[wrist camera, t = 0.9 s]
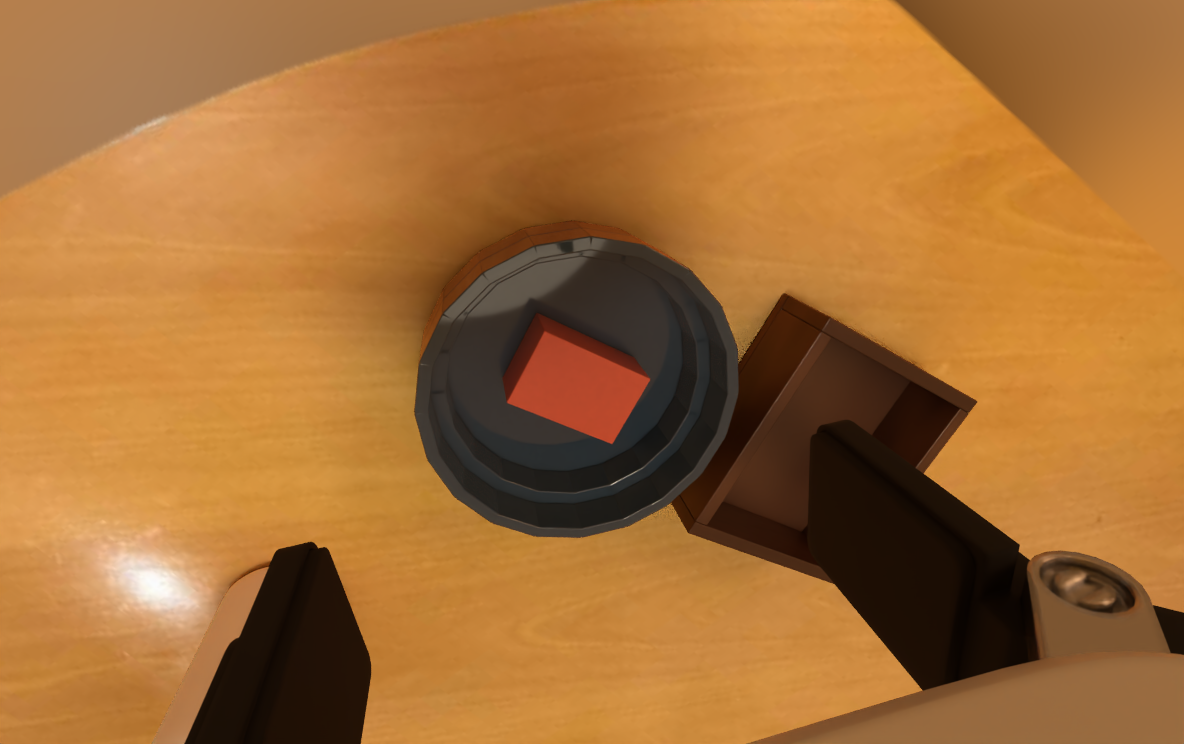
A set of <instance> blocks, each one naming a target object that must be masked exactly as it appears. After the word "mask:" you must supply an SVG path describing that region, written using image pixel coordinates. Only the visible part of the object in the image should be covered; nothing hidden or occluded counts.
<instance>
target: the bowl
mask: <svg viewBox="0 0 1184 744" xmlns="http://www.w3.org/2000/svg"><path fill="white" fill-rule="evenodd" d="M536 313H539V314H541V315H543V316H545V317H547V318H550V319H552V320H554V321H556V322H558V323H560V324H563V325H565V326H567V327H569V328H571V329H573V330H576V331H578V332H580V333H582V334H584V335H586V336H589V337H591V338H593V339H595V340H597V341H599V342H601V343H604V344H606V345H608V346H610V347H612V348H614V349H617V350H619V351H621V352H623V353H625V354H627V355H630V356H632V357H634V358H635V359H636V361H637V362H638V363H639V365H640V366H641V367H642V369H643V370H644V371H645V373H646V374H647V375H648V376H649V378H650V381H649V383H648V384H647V386H646V388H645V390H644V391H643V393H642V395H641V396H640V398H639V400H638V401H637V403H636V405H635V406H634V408H633V410H632V412H631V413H630V415H629V417H628V418H627V420H626V422H625V423H624V425H623V427H622V429H621V430H620V432H619V434H618V435H617V437H616V439H615V440H614V442H613V444H610V443H608V442H605V441H603V440H600V439H598V438H595V437H593V436H590V435H587V434H585V433H582V432H580V431H577V430H575V429H572V428H570V427H567V426H565V425H562V424H559V423H557V422H554V421H552V420H549V419H547V418H544V417H542V416H539V415H537V414H534V413H532V412H529V411H526V410H524V409H521V408H519V407H516V406H514V405H511V404H509V403H507V401H506V395H505V390H504V384H503V376H504V374H505V372H506V370H507V369H508V367H509V365H510V363H511V361H512V359H513V357H514V355H515V353H516V351H517V349H518V347H519V345H520V343H521V341H522V340H523V338H524V336H525V334H526V332H527V330H528V328H529V326H530V324H531V322H532V320H533V318H534V316H535V314H536ZM738 393H739V385H738V349H737V345H736V342H735V340H734V337H733V335H732V332H731V329H730V327H729V324H728V321H727V319H726V316H725V313H724V311H723V308H722V306H721V304H720V303H719V302H718V301H717V300H716V298H715V297H714V296H713V295H712V294H711V293H710V291H709V290H708V289H707V288H706V287H705V286H704V285H703V283H702V282H701V281H700V280H699V279H698V278H697V277H696V275H695V274H694V273H693V272H692V271H691V270H690V269H689V268H687V267H686V266H684V265H683V264H681V263H679V262H678V261H676V260H675V259H673V258H671V257H670V256H668V255H667V254H665V253H663V252H662V251H660V250H659V249H657V248H655V247H653V246H651V245H649V244H648V243H646V242H644V241H642V240H640V239H639V238H637V237H635V236H633V235H631V234H629V233H628V232H626V231H624V230H622V229H619V228H615V227H609V226H603V225H597V224H591V223H585V222H579V221H566V222H560V223H553V224H547V225H541V226H535V227H529V228H524V229H521V230H519V231H518V232H516V233H514V234H512V235H510V236H508V237H506V238H504V239H502V240H500V241H498V242H496V243H494V244H493V245H491V246H489V247H487V248H485V249H483V250H481V251H480V252H479V253H477V254H476V255H475V256H474V257H473V258H472V259H471V260H470V261H469V262H468V263H467V264H466V265H465V266H464V267H463V268H462V269H461V270H460V271H459V272H458V274H457V275H456V276H455V277H454V278H453V279H452V280H451V281H450V282H449V283H448V284H447V285H446V286H445V288H443V290H442V293H441V295H440V297H439V299H438V301H437V303H436V305H435V308H434V310H433V312H432V314H431V316H430V318H429V320H428V323H427V325H426V327H425V329H424V332H423V339H422V345H421V352H420V359H419V366H418V377H417V388H416V399H415V409H414V412H415V418H416V421H417V425H418V429H419V432H420V436H421V439H422V443H423V447H424V450H425V454H426V458H427V459H428V462H429V463H430V464H431V466H432V467H433V468H434V470H435V471H436V473H437V474H438V475H439V477H440V478H441V480H442V481H443V482H444V484H445V485H446V486H447V488H448V489H449V491H450V492H451V493H452V495H453V496H454V497H455V498H457V499H458V500H459V501H461V502H462V503H464V504H465V505H467V506H468V507H470V508H471V509H472V510H474V511H475V512H477V513H478V514H480V515H481V516H482V517H484V518H485V519H487V520H488V521H490V522H491V523H493V524H496V525H500V526H503V527H506V528H509V529H512V530H516V531H519V532H522V533H525V534H529V535H532V536H536V537H571V538H581V537H587V536H591V535H595V534H599V533H603V532H608V531H612V530H616V529H620V528H624V527H628V526H630V525H632V524H633V523H635V522H637V521H639V520H641V519H643V518H645V517H647V516H649V515H651V514H653V513H654V512H656V511H658V510H660V509H662V508H664V507H666V506H667V505H668V504H669V503H671V502H672V501H673V500H674V499H675V498H676V497H677V496H678V495H679V494H681V493H682V492H683V491H684V490H685V489H686V488H687V487H688V486H689V485H691V484H692V483H693V482H694V481H695V480H696V479H697V478H698V477H699V476H700V475H701V474H702V473H703V471H704V470H705V468H706V467H707V465H708V464H709V462H710V460H711V459H712V457H713V456H714V454H715V453H716V451H717V450H718V448H719V447H720V445H721V443H722V442H723V440H724V439H725V436H726V435H727V431H728V428H729V425H730V421H731V418H732V415H733V411H734V408H735V404H736V401H737V398H738Z"/></svg>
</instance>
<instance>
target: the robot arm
mask: <svg viewBox="0 0 1184 744" xmlns="http://www.w3.org/2000/svg"><path fill="white" fill-rule="evenodd" d="M807 542H808V547H809V550H810V553H811V555H812V557H813V558H814V560H815V561H816V562H817V563H818V565H819V566H820V567H821V568H822V569H823V571H824V572H825V573H826V574H827V575H828V577H829V578H830V579H831V580H832V581H833V583H834V584H835V585H836V586H837V588H838V589H839V590H840V591H841V592H842V594H843V595H844V596H845V597H846V598H847V600H848V601H849V602H850V603H851V604H852V606H853V607H854V608H855V609H856V610H857V612H858V613H859V614H860V615H861V616H862V618H863V619H864V620H865V621H866V622H867V624H868V625H869V626H870V627H871V628H872V630H873V631H874V632H875V633H876V635H877V636H878V637H879V638H880V639H881V641H882V642H883V643H884V644H885V645H886V647H887V648H888V649H889V650H890V651H891V653H892V654H893V655H894V656H895V657H896V659H897V660H898V661H899V662H900V663H901V665H902V666H903V667H904V668H905V669H906V671H907V672H908V673H909V674H910V675H911V677H912V678H913V679H914V680H915V681H916V683H917V684H918V685H919V686H920V688H921V689H922V690H923V691H920V692H917V693H914V694H910V695H907V696H904V697H900V698H897V699H894V700H890V701H887V702H884V703H880V704H877V705H874V706H870V707H867V708H864V709H860V710H857V711H854V712H850V713H847V714H844V715H840V716H837V717H834V718H830V719H827V720H824V721H820V722H817V723H814V724H810V725H807V726H804V727H800V728H797V729H794V730H790V731H787V732H784V733H780V734H777V735H774V736H771V737H767V738H764V739H761V740H757V741H754V742H751V743H748V744H1184V613H1182V612H1178V611H1174V610H1170V609H1166V608H1162V607H1158V606H1154V605H1152V603H1151V600H1150V597H1149V596H1148V594H1147V592H1146V591H1145V589H1144V588H1143V586H1142V585H1141V584H1140V583H1139V582H1138V581H1136V580H1135V579H1134V578H1133V577H1132V576H1131V575H1130V574H1128V573H1126V572H1125V571H1123V570H1121V569H1120V568H1118V567H1116V566H1115V565H1113V564H1110V563H1108V562H1106V561H1103V560H1101V559H1098V558H1096V557H1092V556H1089V555H1085V554H1081V553H1077V552H1067V551H1051V552H1044V553H1041V554H1039V555H1036V556H1034V557H1033V558H1032V559H1031V560H1029V559H1027V558H1026V557H1025V556H1023V555H1022V554H1021V553H1019V552H1018V551H1019V546H1020V545H1019V544H1018V543H1016V542H1015V541H1014V540H1012V539H1011V538H1010V537H1008V536H1007V535H1006V534H1004V533H1003V532H1002V531H1000V530H999V529H998V528H996V527H995V526H993V525H992V524H991V523H989V522H988V521H987V520H985V519H984V518H983V517H981V516H980V515H979V514H977V513H976V512H975V511H973V510H972V509H970V508H969V507H968V506H966V505H965V504H964V503H962V502H961V501H960V500H958V499H957V498H956V497H954V496H953V495H952V494H950V493H949V492H948V491H946V490H945V489H943V488H942V487H941V486H939V485H938V484H937V483H935V482H934V481H933V480H931V479H930V478H929V477H927V476H926V475H925V474H923V473H922V472H921V471H919V470H918V469H916V468H915V467H914V466H912V465H911V464H910V463H908V462H907V461H906V460H904V459H903V458H902V457H900V456H899V455H898V454H896V453H895V452H894V451H892V450H891V449H889V448H888V447H887V446H885V445H884V444H883V443H881V442H880V441H879V440H877V439H876V438H875V437H873V436H872V435H871V434H869V433H868V432H867V431H865V430H864V429H862V428H861V427H860V426H858V425H857V424H856V423H854V422H853V421H851V420H841V421H837V422H833V423H828V424H824V425H821V426H819V427H818V429H817V433H816V434H814V435H812V437H811V439H810V463H809V498H808V533H807ZM370 679H371V661H370V656H369V653H368V650H367V648H366V645H365V643H364V640H363V637H362V635H361V632H360V630H359V627H358V624H357V622H356V619H355V617H354V614H353V612H352V609H351V606H350V604H349V601H348V599H347V596H346V593H345V591H344V588H343V586H342V583H341V580H340V578H339V575H338V573H337V570H336V568H335V565H334V562H333V560H332V557H331V555H330V552H329V550H328V549H327V548H325V547H323V548H319V549H318V548H317V546H316V545H315V543H313V542H308V543H304V544H299V545H295V546H291V547H286V548H282V549H279V550H277V551H276V552H275V554H274V556H273V558H272V561H271V563H270V566H269V568H268V570H267V573H266V575H265V577H264V580H263V582H262V584H261V587H260V589H259V592H258V594H257V596H256V599H255V601H254V603H253V606H252V608H251V610H250V613H249V615H248V618H247V620H246V622H245V625H244V627H243V629H242V632H241V634H240V636H239V638H236V639H234V640H233V641H232V642H230V644H229V645H228V647H227V649H226V650H225V652H224V655H223V657H222V659H221V661H220V664H219V666H218V668H217V671H216V673H215V675H214V677H213V680H212V682H211V684H210V686H209V689H208V691H207V693H206V696H205V698H204V700H203V702H202V705H201V707H200V709H199V712H198V714H197V716H196V718H195V721H194V723H193V725H192V727H191V730H190V732H189V734H188V737H187V739H186V741H185V743H184V744H361V738H362V731H363V725H364V718H365V712H366V705H367V699H368V692H369V686H370Z"/></svg>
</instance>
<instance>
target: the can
mask: <svg viewBox="0 0 1184 744" xmlns="http://www.w3.org/2000/svg"><path fill="white" fill-rule="evenodd" d="M268 568H269V567H265V568H262V569H259V570H256V571H254V572H251V573H249V574H248V575H246V576H244V577H242V578H241V579H239V580H238V581H237V582H235V583H234V584H233V585H232V586H231V587H230V588H229V590H228V591H227V593H226V594H225V596H224V598H223V600H222V602H221V604H220V606H219V607H218V609H217V611H216V613H215V615H214V617H213V619H212V621H211V623H210V625H209V627H208V629H207V632H206V634H205V636H204V638H203V640H202V642H201V644H200V646H199V648H198V650H197V652H196V654H195V656H194V658H193V660H192V662H191V664H190V666H189V668H188V670H187V672H186V674H185V676H184V678H183V680H182V682H181V684H180V686H179V688H178V690H177V693H176V695H175V697H174V699H173V701H172V703H171V705H170V707H169V709H168V711H167V713H166V715H165V717H164V719H163V721H162V723H161V725H160V727H159V729H158V732H157V734H156V736H155V738H154V740H153V742H152V744H184V743H185V741H186V739H187V737H188V734H189V732H190V730H191V727H192V725H193V723H194V721H195V718H196V716H197V714H198V712H199V709H200V707H201V705H202V702H203V700H204V698H205V696H206V693H207V691H208V689H209V686H210V684H211V682H212V680H213V677H214V675H215V673H216V671H217V668H218V666H219V664H220V661H221V659H222V657H223V655H224V652H225V650H226V649H227V647H228V645H229V644H230V642H232V641H233V640H234V639H236V638H239V636H240V634H241V632H242V629H243V627H244V625H245V622H246V620H247V618H248V615H249V613H250V610H251V608H252V606H253V603H254V601H255V599H256V596H257V594H258V592H259V589H260V587H261V584H262V582H263V580H264V577H265V575H266V573H267V570H268Z"/></svg>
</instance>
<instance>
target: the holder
mask: <svg viewBox="0 0 1184 744" xmlns="http://www.w3.org/2000/svg"><path fill="white" fill-rule="evenodd" d="M738 385H739V393H738V398H737V401H736V404H735V408H734V411H733V415H732V418H731V421H730V425H729V428H728V431H727V435H726V436H725V439H724V440H723V442H722V443H721V445H720V447H719V448H718V450H717V451H716V453H715V454H714V456H713V457H712V459H711V460H710V462H709V464H708V465H707V467H706V468H705V470H704V471H703V473H702V474H701V475H700V476H699V477H698V478H697V479H696V480H695V481H694V482H693V483H692V484H691V485H689V486H688V487H687V488H686V489H685V490H684V491H683V492H682V493H681V494H679V495H678V496H677V497H676V498H675V499H674V500H673V501H672V502H671V503H672V505H673V507H674V509H675V510H676V512H677V514H678V516H679V517H680V519H681V521H682V523H683V525H684V526H685V528H686V530H687V532H688V533H690V534H693V535H696V536H698V537H701V538H704V539H707V540H710V541H713V542H716V543H718V544H721V545H724V546H727V547H730V548H733V549H736V550H739V551H741V552H744V553H747V554H750V555H753V556H756V557H759V558H761V559H764V560H767V561H770V562H773V563H776V564H779V565H781V566H784V567H787V568H790V569H793V570H796V571H799V572H801V573H804V574H807V575H810V576H813V577H816V578H819V579H822V580H824V581H827V582H830V583H833V581H832V580H831V579H830V578H829V577H828V575H827V574H826V573H825V572H824V571H823V569H822V568H821V567H820V566H819V565H818V563H817V562H816V561H815V560H814V558H813V557H812V555H811V553H810V550H809V547H808V542H807V533H808V498H809V463H810V439H811V437H812V435H814V434H816V433H817V429H818V427H819V426H821V425H824V424H828V423H833V422H837V421H841V420H851V421H853V422H854V423H856V424H857V425H858V426H860V427H861V428H862V429H864V430H865V431H867V432H868V433H869V434H871V435H872V436H873V437H875V438H876V439H877V440H879V441H880V442H881V443H883V444H884V445H885V446H887V447H888V448H889V449H891V450H892V451H894V452H895V453H896V454H898V455H899V456H900V457H902V458H903V459H904V460H906V461H907V462H908V463H910V464H911V465H912V466H914V467H915V468H916V469H918V470H919V471H921V472H922V473H924V472H925V471H926V469H927V468H928V467H929V465H930V464H931V463H932V461H933V460H934V459H935V457H936V456H937V455H938V454H939V452H940V451H941V450H942V448H943V447H944V446H945V444H946V443H947V442H948V440H949V439H950V438H951V436H952V435H953V434H954V432H955V431H956V430H957V429H958V427H959V426H960V425H961V423H962V422H963V421H964V419H965V418H966V417H967V415H968V413H969V412H970V411H971V410H972V408H973V407H974V406H975V405H976V403H977V401H976V400H974V399H973V398H971V397H969V396H967V395H966V394H964V393H962V392H960V391H959V390H957V389H955V388H953V387H952V386H950V385H948V384H946V383H945V382H943V381H941V380H939V379H938V378H936V377H934V376H932V375H931V374H929V373H927V372H925V371H924V370H922V369H920V368H918V367H917V366H915V365H913V364H911V363H910V362H908V361H906V360H904V359H903V358H901V357H899V356H897V355H896V354H894V353H892V352H890V351H889V350H887V349H885V348H883V347H882V346H880V345H878V344H876V343H875V342H873V341H871V340H869V339H868V338H866V337H864V336H862V335H861V334H859V333H857V332H855V331H854V330H852V329H850V328H848V327H847V326H845V325H843V324H841V323H840V322H838V321H836V320H834V319H833V318H831V317H829V316H827V315H825V314H823V313H821V312H819V311H818V310H816V309H814V308H812V307H810V306H808V305H806V304H804V303H802V302H800V301H798V300H796V299H794V298H793V297H790V296H789V295H787V294H783V296H782V297H781V299H780V300H779V302H778V304H777V305H776V307H775V308H774V310H773V311H772V313H771V315H770V316H769V318H768V319H767V321H766V323H765V324H764V326H763V327H762V329H761V331H760V332H759V334H758V335H757V337H756V338H755V340H754V342H753V343H752V345H751V346H750V348H749V350H748V351H747V353H746V354H745V356H744V358H743V359H742V361H741V362H740V364H739V365H738ZM967 412H968V413H967ZM833 584H834V583H833Z"/></svg>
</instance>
